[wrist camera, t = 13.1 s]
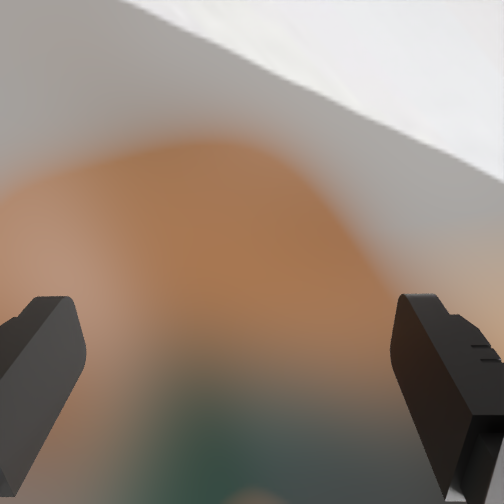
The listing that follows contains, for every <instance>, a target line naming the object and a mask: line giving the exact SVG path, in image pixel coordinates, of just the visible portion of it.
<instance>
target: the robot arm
mask: <svg viewBox="0 0 504 504" xmlns="http://www.w3.org/2000/svg"><path fill="white" fill-rule="evenodd" d="M390 357H391V364H392V367H393V371H394V373H395V376H396V379H397V381H398V383H399V386H400V389H401V391H402V393H403V396H404V399H405V401H406V404H407V406H408V409H409V411H410V414H411V416H412V419H413V422H414V424H415V426H416V429H417V432H418V434H419V437H420V439H421V442H422V444H423V446H424V449H425V452H426V454H427V457H428V459H429V462H430V464H431V467H432V469H433V472H434V475H435V477H436V479H437V482H438V485H439V487H440V489H441V492H442V495H443V497H444V500H445V501H466V502H467V504H504V363H502V362H501V358H500V357H499V355H498V354H497V353H496V351H495V350H494V349H493V348H491V345H490V344H489V342H488V341H487V339H486V338H485V337H484V335H483V334H482V333H481V332H480V330H479V329H478V328H477V327H476V326H474V325H473V324H471V323H470V322H469V321H467V320H466V319H464V318H463V317H462V316H460V315H450V314H449V313H448V312H447V310H446V309H445V307H444V306H443V304H442V303H441V301H440V300H439V298H438V297H437V296H436V295H435V294H401V295H400V297H399V299H398V303H397V309H396V315H395V320H394V327H393V332H392V338H391V345H390ZM85 361H86V345H85V341H84V337H83V334H82V330H81V326H80V323H79V319H78V316H77V312H76V309H75V305H74V302H73V300H72V299H71V298H70V297H67V296H49V297H35V298H34V299H33V300H32V301H31V302H30V303H29V304H28V305H27V306H26V308H25V309H24V310H23V311H22V312H21V314H19V316H18V317H13V318H11V319H10V320H9V321H7V322H5V323H4V324H2V325H1V326H0V497H15V496H16V494H17V492H18V490H19V488H20V486H21V485H22V483H23V481H24V479H25V477H26V475H27V473H28V471H29V470H30V468H31V466H32V464H33V462H34V460H35V458H36V457H37V455H38V453H39V451H40V449H41V447H42V445H43V444H44V441H45V440H46V438H47V436H48V434H49V432H50V430H51V429H52V427H53V425H54V423H55V421H56V419H57V417H58V416H59V413H60V412H61V410H62V408H63V406H64V404H65V402H66V401H67V399H68V397H69V395H70V393H71V391H72V389H73V388H74V386H75V384H76V382H77V380H78V378H79V376H80V374H81V372H82V371H83V368H84V365H85Z"/></svg>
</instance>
